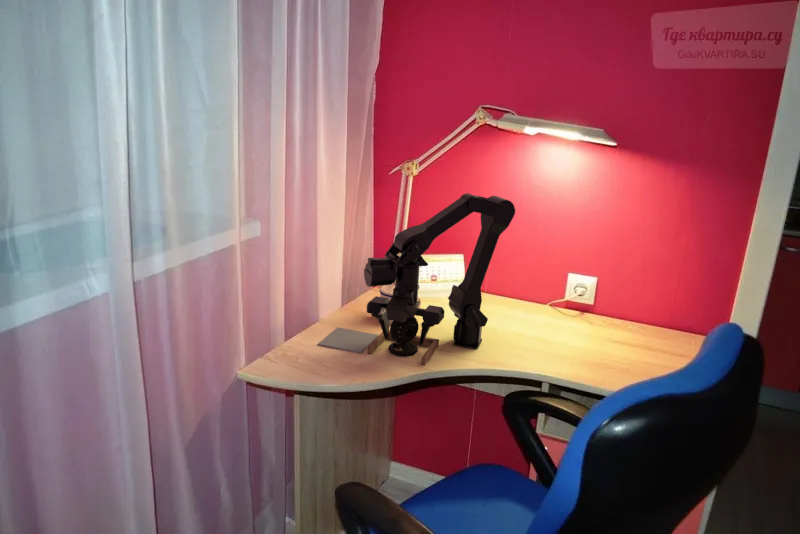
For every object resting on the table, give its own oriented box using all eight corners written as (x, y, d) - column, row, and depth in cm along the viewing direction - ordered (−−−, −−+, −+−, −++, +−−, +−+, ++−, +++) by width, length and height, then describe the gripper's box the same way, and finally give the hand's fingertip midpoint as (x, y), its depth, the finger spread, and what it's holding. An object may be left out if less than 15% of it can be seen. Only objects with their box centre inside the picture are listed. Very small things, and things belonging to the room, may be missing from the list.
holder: (438, 346, 155) (439, 339, 154) (425, 365, 144) (425, 357, 144) (384, 336, 160) (384, 329, 159) (367, 354, 149) (367, 346, 148)
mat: (378, 336, 160) (378, 334, 159) (361, 353, 149) (361, 352, 148) (337, 328, 163) (337, 327, 163) (317, 345, 152) (317, 343, 152)
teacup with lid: (380, 325, 167) (381, 285, 163) (377, 313, 175) (378, 275, 172) (422, 325, 168) (424, 286, 165) (417, 313, 177) (419, 276, 174)
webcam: (396, 359, 146) (398, 321, 144) (382, 348, 153) (384, 311, 150) (423, 354, 150) (426, 317, 147) (409, 343, 156) (411, 307, 153)
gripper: (358, 286, 142) (356, 347, 146) (434, 299, 136) (430, 361, 141) (375, 274, 152) (373, 331, 156) (446, 285, 146) (442, 343, 151)
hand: (403, 341), depth 151 cm, fingers open, 9 cm apart
